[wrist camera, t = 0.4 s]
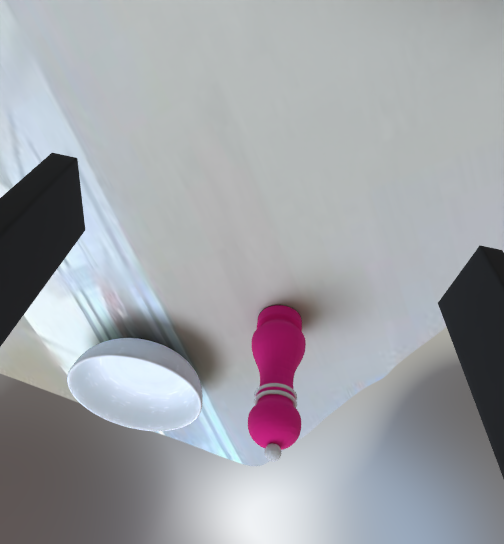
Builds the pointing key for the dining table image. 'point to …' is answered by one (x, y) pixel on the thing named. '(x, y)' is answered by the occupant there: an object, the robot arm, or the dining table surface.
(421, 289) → the dining table surface
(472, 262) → the robot arm
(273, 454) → the pepper mill
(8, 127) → the dining table surface
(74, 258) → the dining table surface
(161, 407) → the serving bowl
